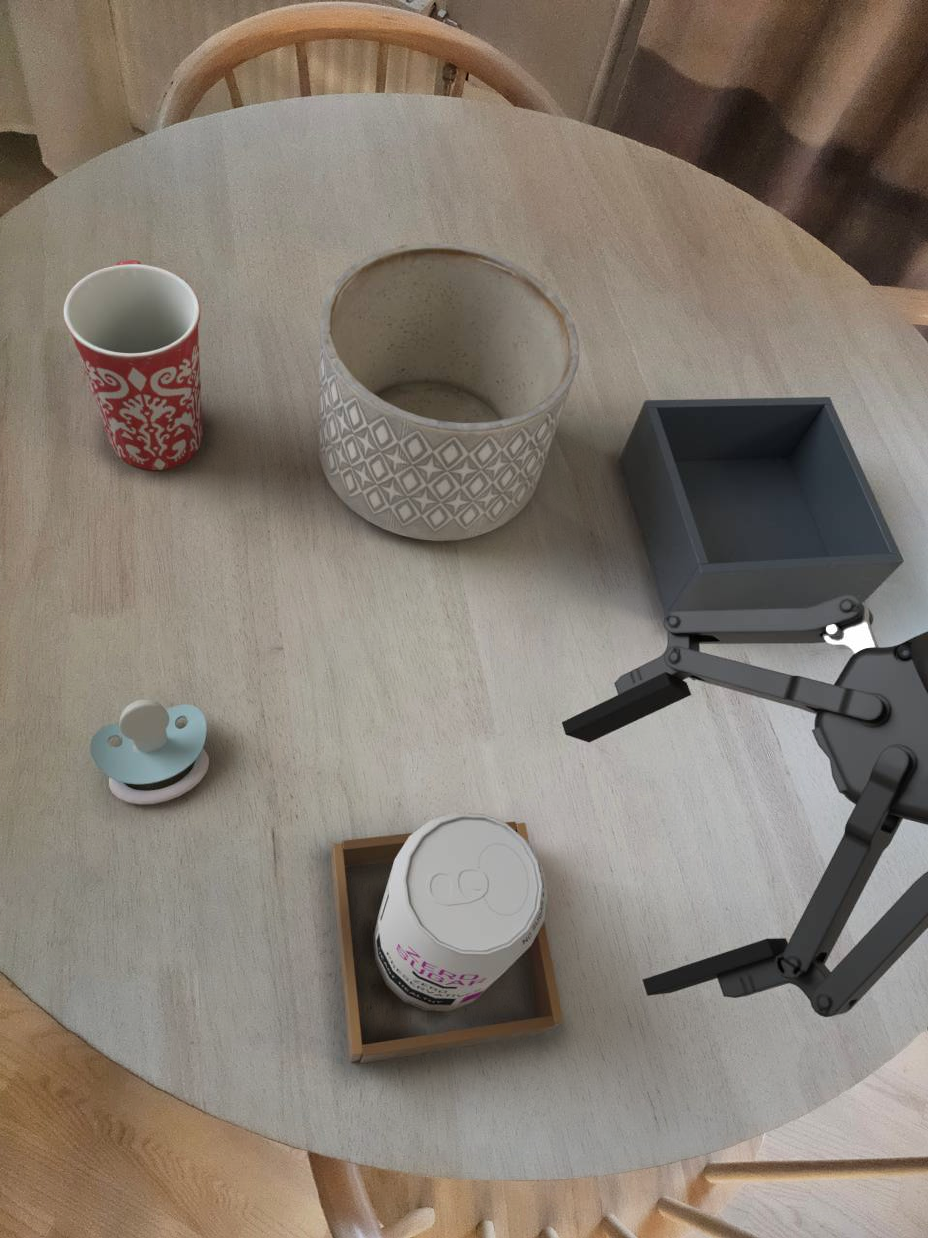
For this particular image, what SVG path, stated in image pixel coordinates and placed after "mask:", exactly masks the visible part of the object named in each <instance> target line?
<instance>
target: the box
mask: <svg viewBox="0 0 928 1238" xmlns="http://www.w3.org/2000/svg"><path fill="white" fill-rule="evenodd" d="M505 823H506V824H508V825H509V826H510V827H511V828H512V829H514V830H515V831H516V832H517V833H518V834H519V835H521V836H522V837H523V838H524V839H525V840H526V841H528V843H529V844H530V840H529V835H528V831H527V826H526V825H527V824H526V822H518V823H517V822H516V821H507V822H505ZM413 833H414V832H409V833H401V834H392V835H391V834H390V835H382V836H381V835H380V836H373V837H365V838H355V839H345V840H342V842H341V843H340V842H339V843H333V844H332V850H331V860H330V861H331V862H330V865H331V874H332V876H331V877H332V884H333V885H332V886H333V897H334V908H335V909H334V910H335V919H336V930H337V931H336V932H337V941H338V954H339V963H340V974H341V975H340V976H341V983H342V984H341V987H342V996H343V998H342V999H343V1007H344V1020H345V1029H346V1041H347V1051H348V1062H349V1063H354V1062H359V1064H365V1063H370V1062H371V1063H372V1062H377V1061H384V1060H390V1059H397V1058H402V1057H408V1056H409V1057H410V1056H415V1055H421V1054H428V1053H434V1052H441V1051H445V1050H453V1049H459V1048H464V1047H472V1046H478V1045H483V1044H490V1043H496V1042H503V1041H509V1040H514V1039H515V1040H516V1039H522V1038H528V1037H533V1036H539V1035H541V1034H543V1033H545V1032H548V1031H550V1030H552V1029H553V1028H555V1027H557V1026H558V1025H560V1024H562V1023H563V1022H564V1015H563V1011H562V1010H563V1009H562V1006H561V1001H560V995H559V991H558V985H557V980H556V975H555V974H556V973H555V970H554V963H553V959H552V954H551V949H550V943H549V937H548V933H547V928H546V923H545V921H544V922H543V924H542V926H541V928H540V930H539V932H538V933H537V935H536V937H535V939H534V941H533V943H532V945H531V946H530V947H529V948H528V949H527V950H526V951H525V952H524V953H525V958H526V959H525V960H526V963H527V964H526V965H527V971H528V976H529V981H530V987H531V993H532V997H533V1004H534V1009H535V1014H536V1017H533V1018H532V1017H531V1018H525V1019H519V1020H514V1021H513V1020H512V1021H507V1022H500V1023H493V1024H487V1025H481V1026H475V1027H469V1028H462V1029H456V1030H455V1029H454V1030H449V1031H443V1032H436V1033H430V1034H429V1033H428V1034H424V1035H418V1036H412V1037H404V1038H398V1039H392V1040H385V1041H379V1042H374V1043H373V1042H372V1043H366V1044H363V1038H362V1028H361V1018H360V1017H361V1016H360V1008H359V999H358V987H357V977H356V967H355V956H354V945H353V935H352V925H351V915H350V907H349V906H350V905H349V894H348V885H347V884H348V883H347V876H346V868H348V867H349V868H350V867H358V866H366V865H374V864H375V865H376V864H382V863H393V862H394V860H395V858H396V856H397V855H398V853H399V852H400V850H401V849H402V847H403V845H404V844H405V842H406V841H407V839H408V838H409V836H410V835H412V834H413Z"/></svg>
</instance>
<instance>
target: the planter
mask: <svg viewBox="0 0 928 1238" xmlns="http://www.w3.org/2000/svg"><path fill="white" fill-rule="evenodd" d="M575 325H576V324H575V323H574V320H573V319H572V317H571V315H570V313H569V311H568V309H567V307H566V306H565V305H564V304H563V302H562V301H561V299H560V298H559V297H558V296H557V294H556V293H554V291H552V289H551V288H550V287H549V286H548V285H547V284H546V283H545V282H543V281H542V280H540V279H539V278H538V277H537V276H536V275H534V274H533V273H531V272H530V271H529V270H526V268H523V267H522V266H521V265H519V264H517V263H515V262H512V261H510V260H509V259H507V258H504V257H503V256H500V255H497V254H494V253H492V252H489V251H486V250H484V249H479V248H475V247H470V246H466V245H461V244H452V243H447V242H446V243H445V242H420V243H419V242H418V243H407V244H403V245H397V246H393V247H388V248H386V249H383V250H380V251H377V252H374V253H372V254H370V255H367V256H366V257H364V258H362V259H360V260H358V261H357V262H355V263H354V264H353V265H352V266H350V267H348V268H347V269H346V270H345V271H344V272H343V273H342V274H341V275H339V277H338V278H337V279H336V280H335V281H334V283H333V284H332V286H331V287H330V289H329V291H328V292H327V294H326V296H325V299H324V302H323V305H322V308H321V314H320V323H319V358H318V359H319V362H318V364H319V366H318V403H317V404H318V410H317V411H318V412H317V450H318V451H317V452H318V459H319V462H320V465H321V466H320V467H321V469H322V472H323V473H324V476H325V477H326V480H327V481H328V483H329V485H330V487H331V488H332V489H333V491H334V492H335V493H336V495H337V497H339V499H340V500H341V501H343V503H344V504H346V506H347V507H349V509H351V511H353V512H354V513H355V514H357V515H358V516H360V517H361V518H363V519H364V520H365V521H367V522H369V523H371V524H373V525H375V526H377V527H378V528H381V529H383V530H385V531H388V532H390V533H394V534H396V535H400V536H403V537H407V538H412V539H416V540H422V541H423V540H424V541H433V542H434V541H435V542H445V541H446V542H447V541H459V540H465V539H470V538H475V537H479V536H481V535H484V534H487V533H490V532H492V531H495V530H496V529H499V528H500V527H502V526H504V525H505V524H507V523H508V522H509V521H511V520H512V519H513V518H515V517H517V516H518V514H519V513H520V512H521V511H522V510H523V509H524V508H525V507H526V506H527V505H528V503H529V502H530V500H531V498H532V497H533V495H534V494H535V492H536V488H537V487H538V483H539V482H540V479H541V475H542V472H543V469H544V467H545V464H546V461H547V459H548V455H549V452H550V449H551V447H552V443H553V441H554V438H555V434H556V431H557V428H558V426H559V424H560V420H561V417H562V415H563V411H564V408H565V405H566V402H567V400H568V397H569V393H570V390H571V388H572V386H573V382H574V380H575V377H576V374H577V370H578V366H579V360H580V345H579V344H580V342H579V336H578V332H577V328H576V326H575Z"/></svg>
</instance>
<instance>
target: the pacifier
mask: <svg viewBox="0 0 928 1238" xmlns="http://www.w3.org/2000/svg"><path fill="white" fill-rule="evenodd" d="M182 718H184V719H186V720H187V722H186V724H185V726H184V727H182V728H178V727H177V726H176V724H177V722H178V721H179V720H180V719H182ZM207 728H208V727H207V721H206V718H205V715H204V714H203V712H202V711H201V709H199V708H198V707H196V706H195V705H192V704H178V705H175V706H172V707H170V708H168V709H167V708H165V706H163V704H161V703H160V702H158V701H156V700H153V699H145V698H143V699H138V700H135V701H133V702H131V703H130V704H128V705H127V706H126V707H125V708H124V709H123V710H122V713H121V714H120V717H119V721H118V722H113V723H109V724H107V725H105V726H103V727H101V728H99V729H98V730H97V731H96V732H95V733H94V735H93V736H92V738H91V740H90V745H89V749H90V755H91V757H92V759H93V761H94V763H95V765H96V766H97V767H98V768H99V769H100V770H101V771H102V772H103V773H104V775H106V776H107V777H108V787H109V789H110V791H111V793H112V795H114V796H115V798H117V799H119V800H120V801H123V802H126V803H129V804H134V805H155V804H159V803H163V802H164V803H165V802H169V801H171V800H173V799H175V798H178V797H180V796H182V795H184V794H185V793H186V794H187V792H189V791H191V790H193V788H194V787H195V786H197V785H198V784H199V783H200V782H201V781H202V779H203V778H204V777H205V775H206V774H207V771H208V769H209V766H210V759H209V755H208V753H207V751H206V750H205V748H204V746H205V744H206V739H207V733H208V729H207ZM112 738H120V739H121V741H122V742H121V744H120V745H119V746H112V745H111V744H110V743H109V741H110V740H111V739H112ZM193 763H194V764H193ZM191 765H193V766H192V769H191V770H190V771H189V772H188V773H187V774H186V775H185V776H184V777H183V778H181V779H180V780H179V781H177V782H175V783H173V784H171V785H168V786H166V787H163V788H158V789H154V790H153V789H152V790H141V789H135V788H132V787H129V786H128V785H127V784H129V785H150V784H155V783H159V782H163V781H166V780H168V779H171V778H173V777H175V776H177V775H179V774H181V773H183V772H184V771H185V770H186V769H188V768H189V767H190V766H191Z"/></svg>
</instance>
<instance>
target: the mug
mask: <svg viewBox="0 0 928 1238" xmlns="http://www.w3.org/2000/svg"><path fill="white" fill-rule="evenodd" d="M201 311H202V309H201V303H200V300H199V298H198V296H197V293H196V292H195V290H194V289H193V288H192V286H191V285H190V284H189V283H188V282H187V281H185V280H184V279H183V278H182V277H180V276H179V275H178V274H175V273H174V272H172V271H169V270H167V269H164V268H161V267H158V266H153V265H148V264H142V263H141V262H140V261H139V260H135V259H134V260H133V259H131V260H121V261H118V262H117V263H116V264H115V265H111V266H109V267H105V268H101V269H98V270H96V271H93V272H91V273H89V274H87V275H86V276H84V277H82V278H81V279H80V280H79V281H78V282H77V283H76V284H75V285H73V286H72V287H71V289H70V290H69V292H68V294H67V295H66V297H65V300H64V303H63V308H62V315H63V320H64V323H65V326H66V329H67V330H68V332H69V334H70V335H71V336H72V338H73V341H74V344H75V348H76V350H77V353H78V356H79V358H80V361H81V364H82V367H83V371H84V372H85V374H86V377H87V380H88V384H89V386H90V389H91V392H92V395H93V397H94V400H95V403H96V406H97V409H98V412H99V415H100V418H101V420H102V423H103V426H104V429H105V432H106V435H107V438H108V440H109V444H110V445H111V448H112V449H113V451H114V452H115V454H116V455H117V456H118V457H119V458H120V459H121V460H122V461H123V462H125V463H126V464H129V465H131V466H133V467H136V468H137V469H138V468H139V469H143V470H146V471H147V470H148V471H164V470H168V469H169V470H170V469H172V468H176V467H178V466H181V465H183V464H184V463H186V462H188V461H189V460H190V459H192V458H193V457H194V456H195V454H196V453H197V452H198V450H199V449H200V447H201V445H202V442H203V435H204V433H203V432H204V431H203V430H204V429H203V415H202V390H201V388H202V385H201V384H202V383H201V382H202V381H201V366H200V365H201V363H200V338H199V337H200V334H199V323H200V319H201Z"/></svg>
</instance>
